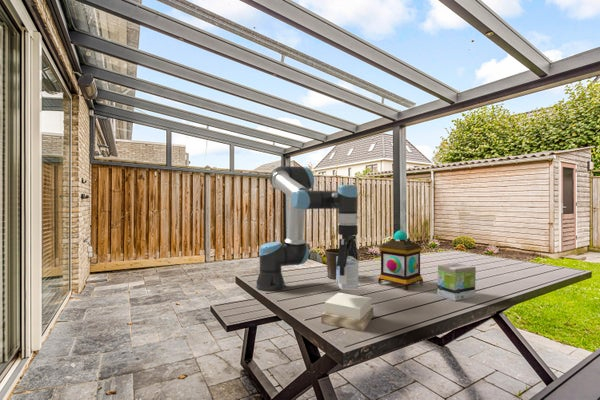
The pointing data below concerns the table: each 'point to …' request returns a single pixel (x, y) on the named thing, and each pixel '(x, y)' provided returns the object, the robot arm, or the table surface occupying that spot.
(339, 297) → the tower top slab
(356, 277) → the light bulb box
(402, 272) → the decorative lantern
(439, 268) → the tea box
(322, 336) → the table surface
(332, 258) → the plant pot
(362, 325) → the tower base slab
